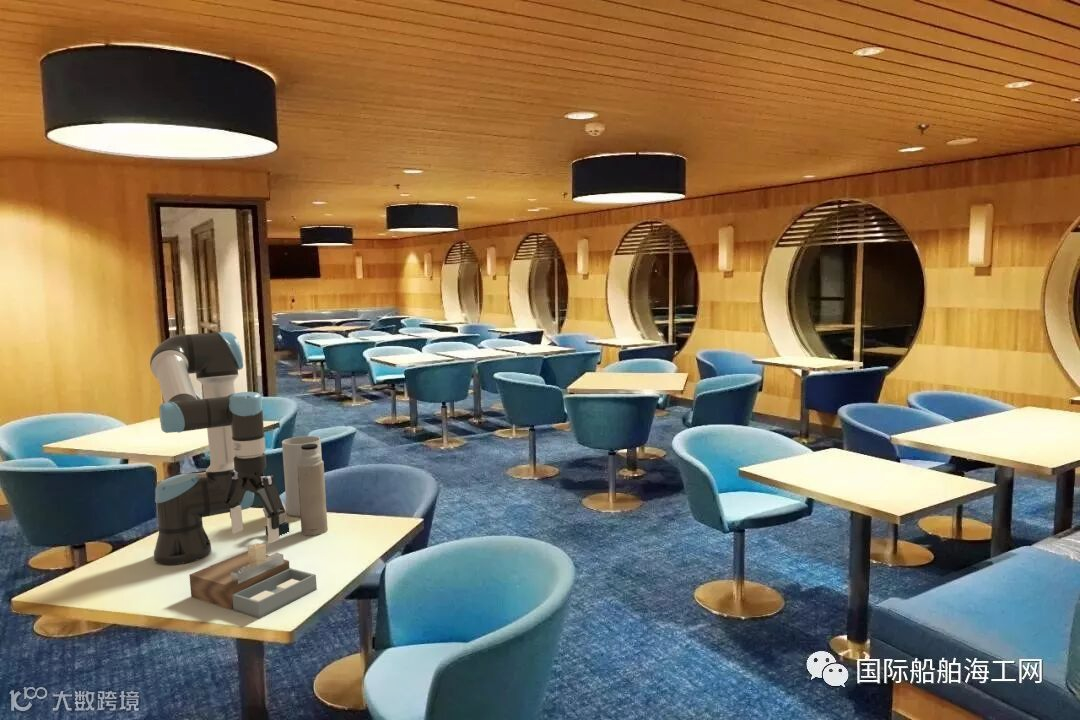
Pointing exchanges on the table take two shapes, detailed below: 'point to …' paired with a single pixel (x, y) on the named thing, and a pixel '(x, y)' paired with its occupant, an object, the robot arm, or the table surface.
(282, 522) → the watch
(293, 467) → the cylinder vase
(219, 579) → the wood grain panel
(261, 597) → the tile
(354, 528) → the table surface
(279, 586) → the tile
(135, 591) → the table surface
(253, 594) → the box
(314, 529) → the thermos bottle
